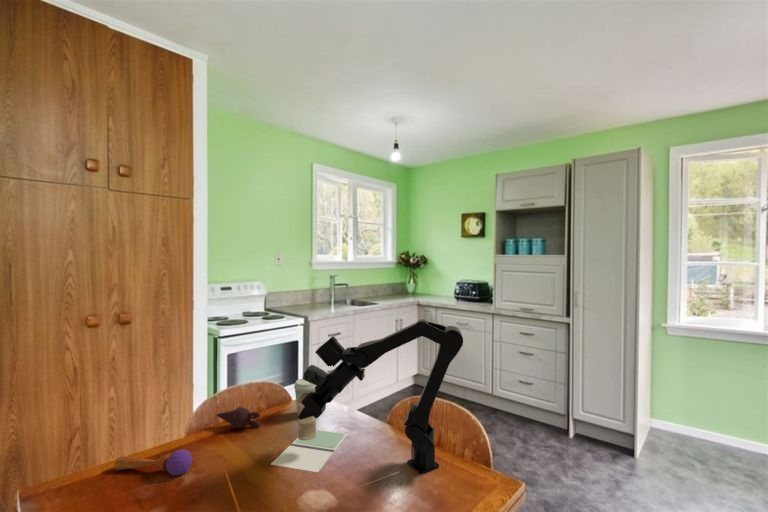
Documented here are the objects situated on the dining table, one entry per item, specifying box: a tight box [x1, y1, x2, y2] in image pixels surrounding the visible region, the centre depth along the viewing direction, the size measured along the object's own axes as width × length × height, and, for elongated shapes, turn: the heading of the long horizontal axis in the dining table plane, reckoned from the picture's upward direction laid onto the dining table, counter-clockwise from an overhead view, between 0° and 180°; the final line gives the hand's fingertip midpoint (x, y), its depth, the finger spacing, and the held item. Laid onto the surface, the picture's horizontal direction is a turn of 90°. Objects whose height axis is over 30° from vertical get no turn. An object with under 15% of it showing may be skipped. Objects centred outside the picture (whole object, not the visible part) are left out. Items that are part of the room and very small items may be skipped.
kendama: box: [114, 448, 193, 476], centre depth 97 cm, size 6×6×20 cm
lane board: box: [270, 429, 348, 473], centre depth 109 cm, size 22×14×1 cm, turn 165°
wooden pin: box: [297, 392, 317, 440], centre depth 106 cm, size 5×5×12 cm
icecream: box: [216, 405, 261, 430], centre depth 123 cm, size 7×7×15 cm
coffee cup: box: [293, 378, 316, 414], centre depth 133 cm, size 8×8×12 cm
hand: (302, 414), depth 106 cm, fingers closed on wooden pin, 5 cm apart
